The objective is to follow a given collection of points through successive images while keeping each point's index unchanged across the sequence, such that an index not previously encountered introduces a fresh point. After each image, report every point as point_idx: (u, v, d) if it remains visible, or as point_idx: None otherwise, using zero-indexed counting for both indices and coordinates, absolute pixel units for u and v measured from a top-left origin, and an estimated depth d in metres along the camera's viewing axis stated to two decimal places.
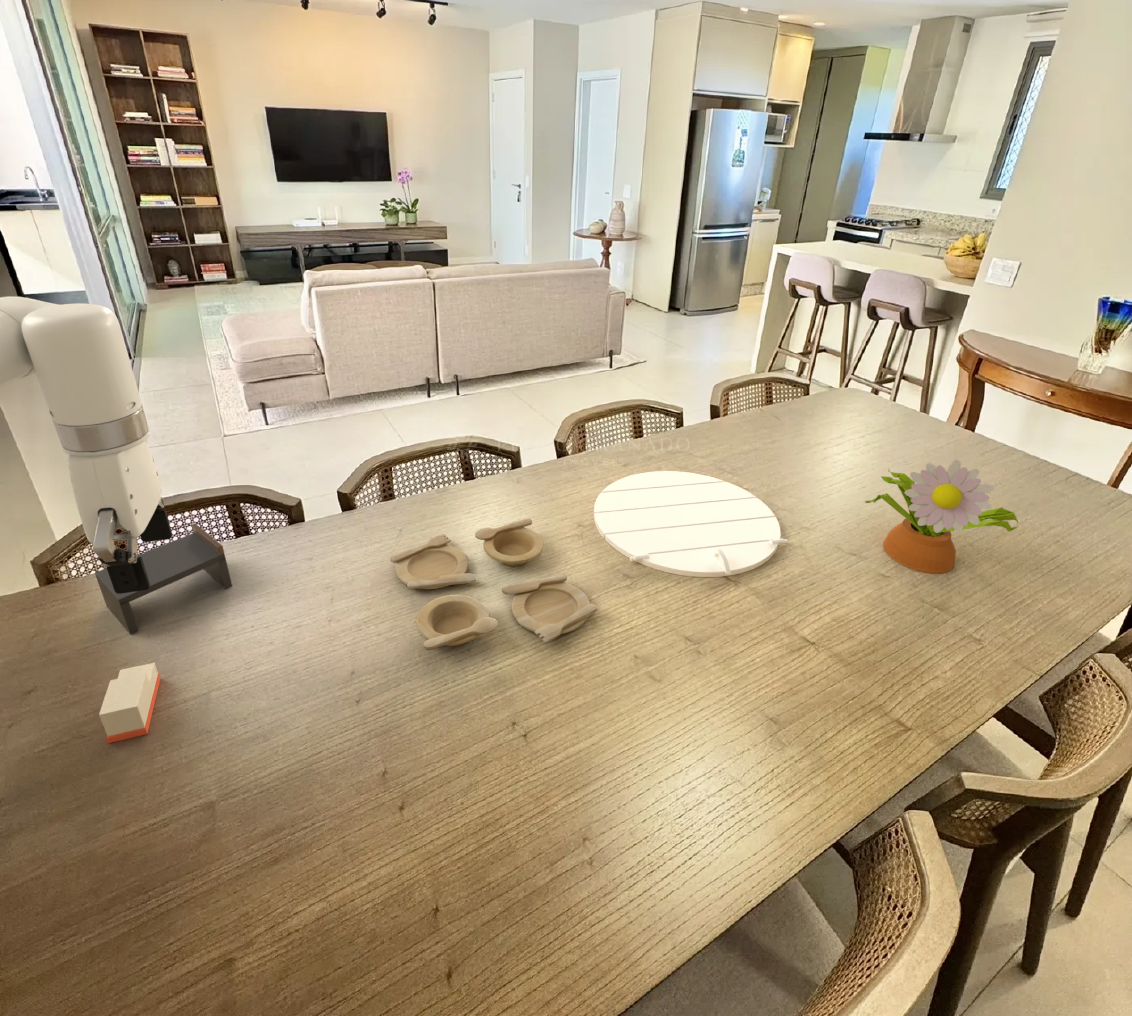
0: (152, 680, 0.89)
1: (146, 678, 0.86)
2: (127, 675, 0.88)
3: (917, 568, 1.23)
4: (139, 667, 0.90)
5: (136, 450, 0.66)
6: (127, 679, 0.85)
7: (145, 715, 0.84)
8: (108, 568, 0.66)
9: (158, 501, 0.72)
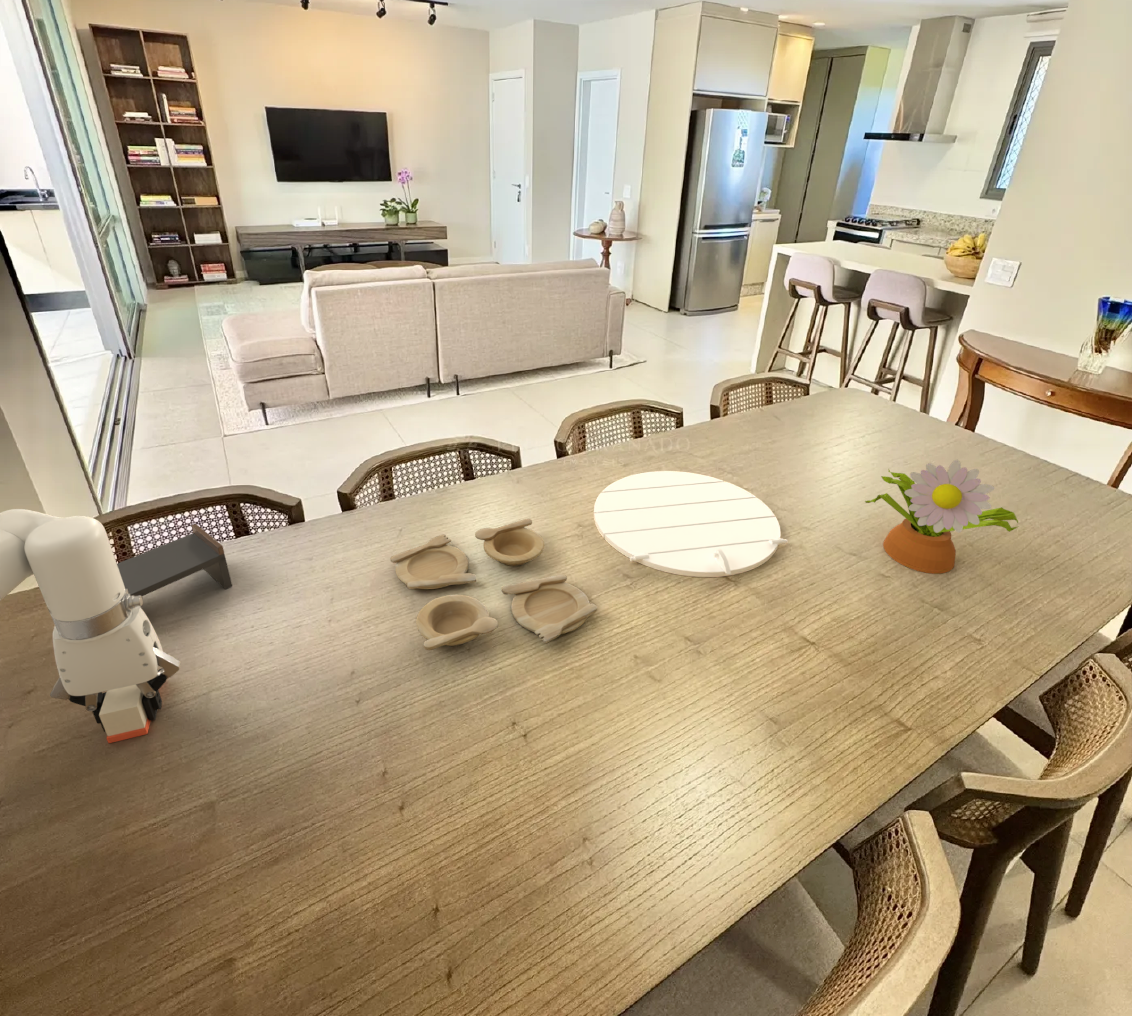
0: None
1: None
2: None
3: (917, 568, 1.23)
4: None
5: (86, 643, 0.76)
6: None
7: (145, 715, 0.84)
8: None
9: (136, 682, 0.81)
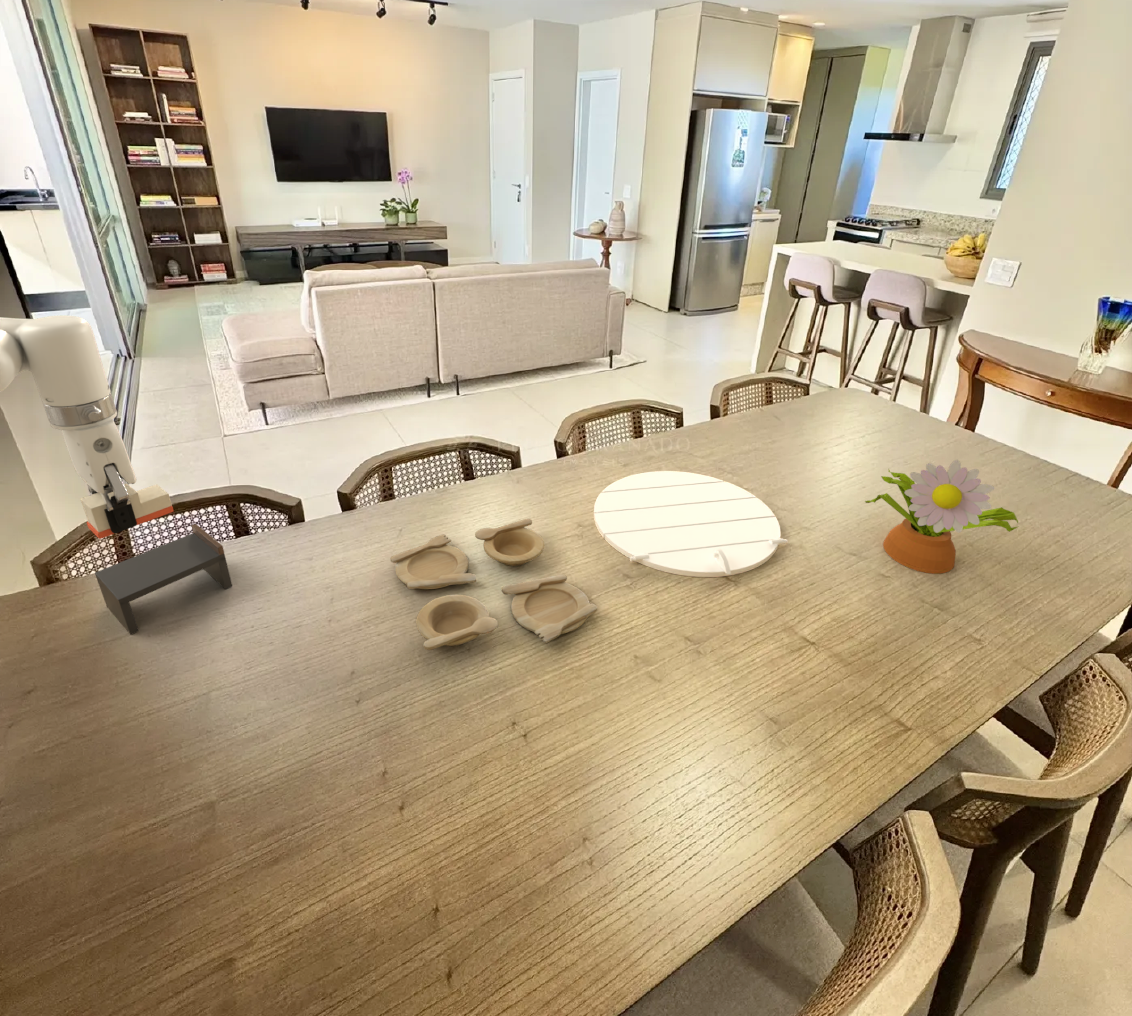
0: (150, 505, 0.95)
1: (135, 497, 0.93)
2: (149, 490, 0.97)
3: (917, 568, 1.23)
4: (160, 490, 0.97)
5: (63, 430, 0.86)
6: (127, 489, 0.94)
7: (108, 524, 0.91)
8: None
9: (93, 488, 0.88)
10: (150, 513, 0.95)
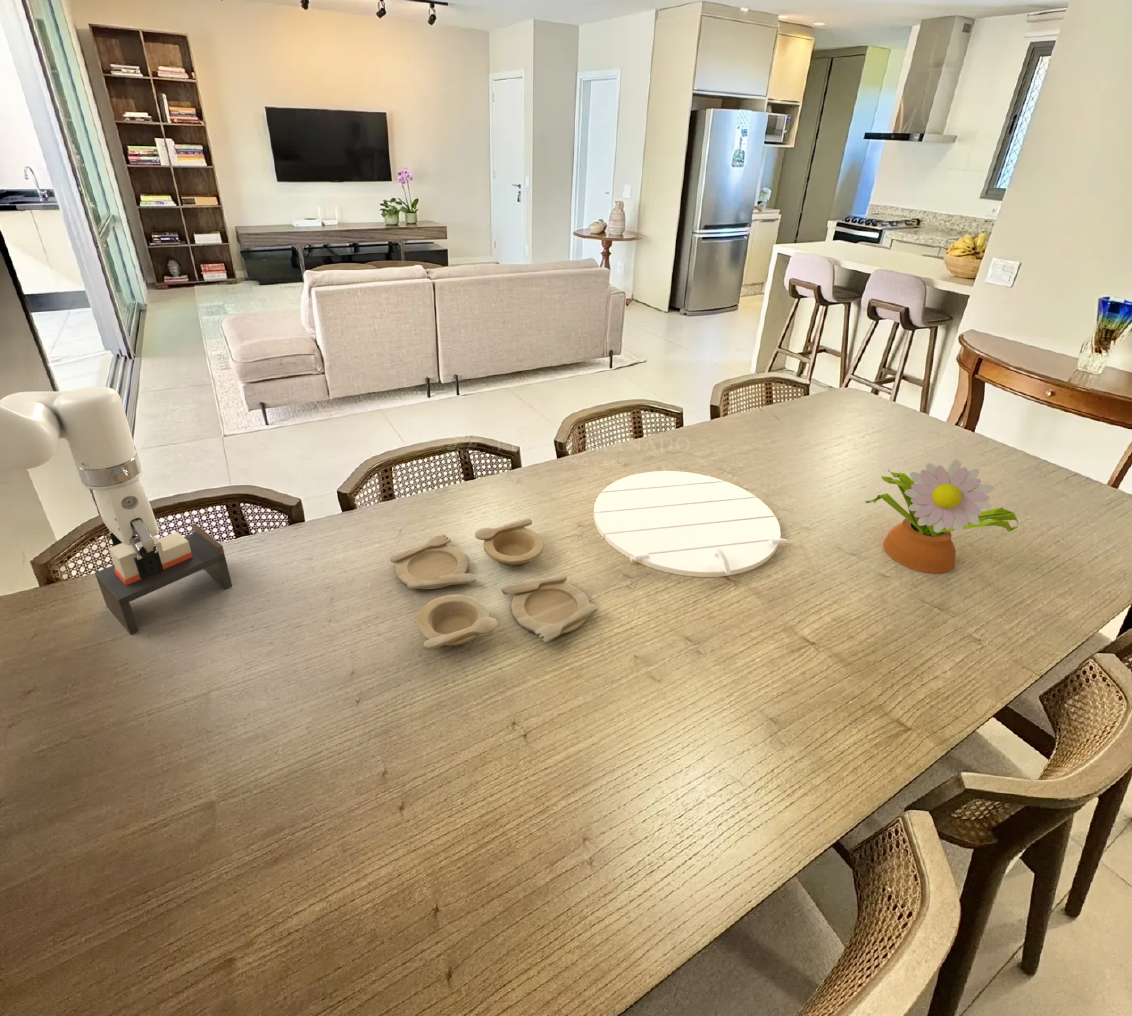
0: (172, 552, 1.04)
1: (158, 546, 1.02)
2: (170, 538, 1.06)
3: (917, 568, 1.23)
4: (180, 538, 1.06)
5: None
6: None
7: (134, 571, 1.00)
8: None
9: (120, 540, 0.96)
10: (171, 560, 1.04)
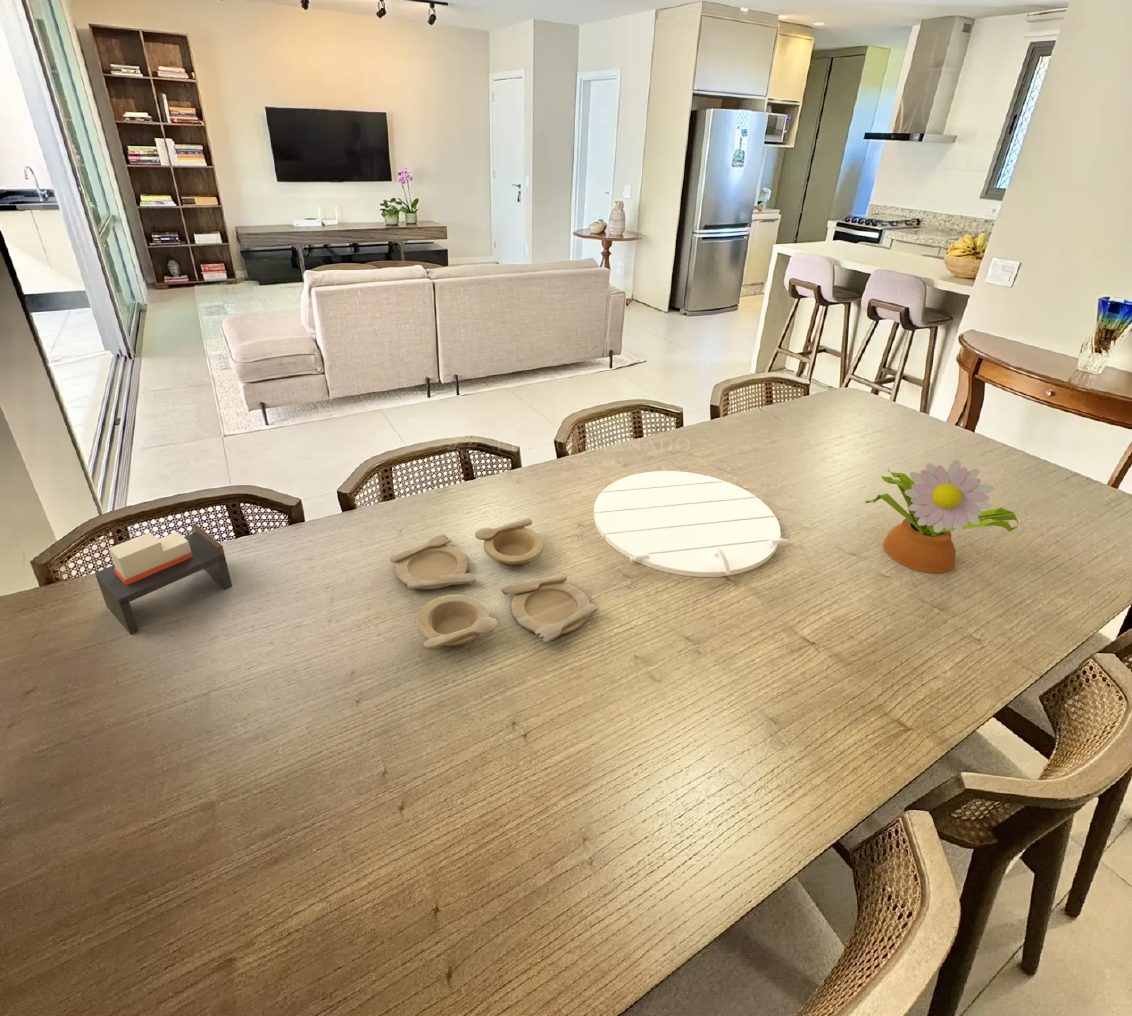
0: (172, 552, 1.04)
1: (158, 546, 1.02)
2: (170, 538, 1.06)
3: (917, 568, 1.23)
4: (180, 538, 1.06)
5: None
6: (151, 538, 1.02)
7: (134, 571, 1.00)
8: None
9: None
10: (171, 560, 1.04)
